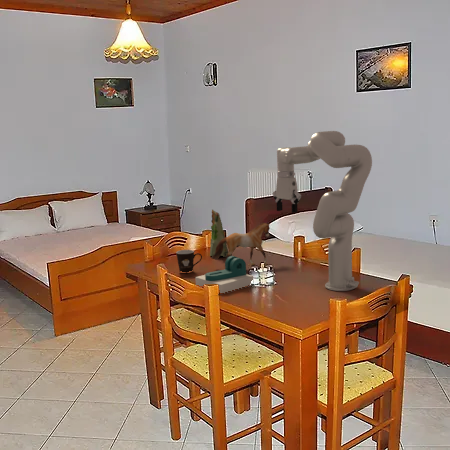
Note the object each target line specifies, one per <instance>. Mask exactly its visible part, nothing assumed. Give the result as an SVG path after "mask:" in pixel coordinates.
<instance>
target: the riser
mask: <svg viewBox="0 0 450 450" xmlns="http://www.w3.org/2000/svg"><path fill="white" fill-rule="evenodd" d="M194 279H195V286H196V285H199V286H203V285H204V284H218V285H219V290H220V293H224V294H226V293H225V292H227V293H229V292H228V291H231V292H233V291H232V290H234V291H236V290H235V289H238V290H240V289H239V288H241V289H243V288H242V287H245V286H248V285H250V283H251V281H252V280H253V281H254V275H251V274H248V273H246V275H243V276H238V277H233V278H228V279H223V280H218V281H207V280H205V274H204V275H203V274H202V275H199V276H195V278H194ZM248 287H249V286H248ZM245 288H246V287H245Z"/></svg>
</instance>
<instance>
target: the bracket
mask: <svg viewBox="0 0 450 450" xmlns="http://www.w3.org/2000/svg"><path fill="white" fill-rule="evenodd" d="M246 263H247V262H246V261H245V260H244V259H243V258H240V257H237V256H234V255H232V256H230V257H228V258H227V259H226V258H225V262H224V269H220V270H215V271H210V272H209V271H208V272H206V273H205V274H204V275H205V280H207V281H218V280H223V279H228V278H233V277H238V276H243V275H246V274H247V264H246Z"/></svg>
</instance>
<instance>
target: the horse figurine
mask: <svg viewBox="0 0 450 450" xmlns="http://www.w3.org/2000/svg"><path fill="white" fill-rule="evenodd" d="M270 225H271V223H270V222H262V223H258V224H257V225H256V226H255V227H253V228H251V230H250V231H248V232H247V233H238V232H233V233H231V234H229V235H228V236H227V237H225V238H224V239H222V240H221V241H220V242H219V243H218V245H217V247H216V251H215V254H214V256H212V257H210V259H213V260H216V261H217V260H219V259H220V255H221V254H222V251H223V248H224V247H223V244H224V243H225V242H226V245H227V249H228V254H227V256H226V257H225V260H226V259H227V258H228V257H230V256H233V253H234V252H235V250H236V249H237V248H239V247H241V248H250V251H249V262H250V266H255V265H256V264H255V263H254V261H253V260H252V258H253V255H254V248H256V249H257V250H258V251H259V252H260V253H261V254H262V255H263V257H264V261H263V263H264V265H266V266H267V265H268V263H267V260H268V259H267V256H266V252H265V251H264V248H263V246H262V245H263V240H262V235H263V233H264V234H265V237H266V238H267V237H269V236H270V229H271V228H270Z"/></svg>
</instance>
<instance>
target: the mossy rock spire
mask: <svg viewBox="0 0 450 450" xmlns="http://www.w3.org/2000/svg"><path fill="white" fill-rule="evenodd" d="M220 216H221V214H220V213H219V212H217V211H215V210H214V209H211V226H210V229H211V234H210V235H211V236H210V237H211V238H210V251H209V257H210V256H214V254H215V251H216V247H217V245H218V243H219V242H220V241H221V240H222V239H224V238H226V237H225V232H224V229H223V228H224V227H223V223H222V220H221V217H220ZM223 247H224V248H223V251H222V254H221V255H220V256H223V257H224V258H226V256H227V254H228V252H229V249H228V246H227V244H226V242H225V243H224V244H223ZM220 256H219V257H220Z"/></svg>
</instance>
